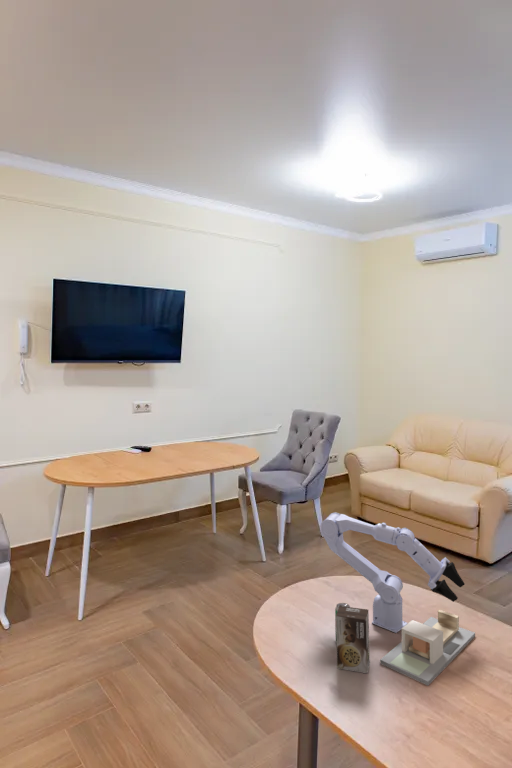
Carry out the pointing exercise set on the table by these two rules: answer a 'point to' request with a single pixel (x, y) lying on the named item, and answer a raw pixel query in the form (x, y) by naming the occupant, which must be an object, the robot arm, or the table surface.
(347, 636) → the cookie box
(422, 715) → the table surface
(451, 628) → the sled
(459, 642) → the plate
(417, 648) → the block
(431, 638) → the tunnel
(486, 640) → the table surface
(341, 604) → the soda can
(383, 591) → the robot arm
